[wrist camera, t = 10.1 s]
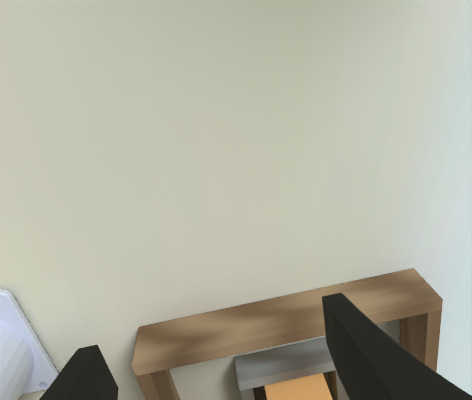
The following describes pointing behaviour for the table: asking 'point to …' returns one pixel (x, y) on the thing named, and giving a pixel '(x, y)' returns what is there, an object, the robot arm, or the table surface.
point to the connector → (299, 389)
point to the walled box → (286, 335)
